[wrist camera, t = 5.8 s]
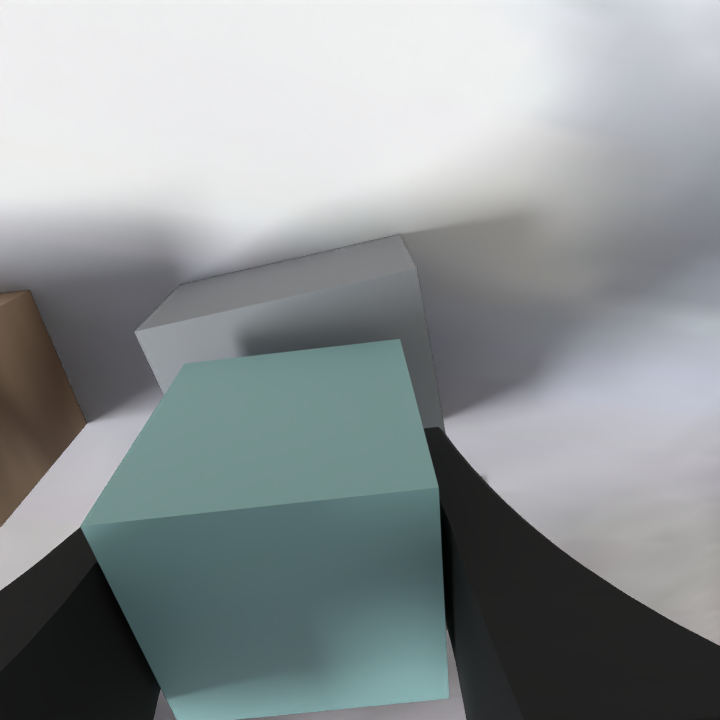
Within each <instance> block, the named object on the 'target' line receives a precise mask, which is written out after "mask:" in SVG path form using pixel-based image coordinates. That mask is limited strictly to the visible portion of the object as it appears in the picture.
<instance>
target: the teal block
mask: <svg viewBox="0 0 720 720" xmlns="http://www.w3.org/2000/svg"><path fill="white" fill-rule="evenodd" d="M80 527H81V529H82V531H83V533H84V535H85V537H86V539H87V541H88V543H89V545H90V547H91V549H92V551H93V553H94V555H95V557H96V559H97V561H98V563H99V565H100V567H101V569H102V571H103V573H104V575H105V577H106V579H107V581H108V583H109V585H110V587H111V589H112V591H113V593H114V595H115V597H116V599H117V601H118V603H119V605H120V607H121V609H122V611H123V613H124V615H125V617H126V619H127V621H128V623H129V625H130V627H131V629H132V631H133V633H134V635H135V637H136V639H137V641H138V643H139V645H140V647H141V649H142V651H143V653H144V655H145V657H146V659H147V661H148V663H149V665H150V667H151V669H152V671H153V673H154V675H155V677H156V679H157V681H158V683H159V685H160V687H161V689H162V691H163V693H164V695H165V697H166V699H167V701H168V703H169V705H170V707H171V709H172V711H173V713H174V715H175V717H176V720H237V719H247V718H257V717H268V716H278V715H288V714H298V713H308V712H318V711H328V710H338V709H348V708H358V707H368V706H378V705H388V704H398V703H408V702H419V701H429V700H439V699H449V686H448V666H447V646H446V625H445V605H444V585H443V564H442V544H441V523H440V503H439V487H438V483H437V479H436V475H435V471H434V467H433V464H432V460H431V456H430V452H429V448H428V444H427V441H426V437H425V433H424V429H423V425H422V421H421V418H420V414H419V410H418V406H417V402H416V398H415V395H414V391H413V387H412V383H411V379H410V375H409V371H408V368H407V364H406V360H405V356H404V352H403V348H402V345H401V341H400V339H395V340H386V341H377V342H368V343H360V344H351V345H342V346H334V347H325V348H316V349H307V350H299V351H290V352H281V353H272V354H264V355H255V356H246V357H237V358H229V359H220V360H211V361H202V362H194V363H185V364H184V365H183V367H182V368H181V370H180V371H179V373H178V374H177V376H176V378H175V379H174V381H173V382H172V384H171V385H170V387H169V388H168V390H167V392H166V393H165V395H164V396H163V398H162V399H161V401H160V403H159V404H158V406H157V407H156V409H155V410H154V412H153V413H152V415H151V417H150V418H149V420H148V421H147V423H146V424H145V426H144V427H143V429H142V431H141V432H140V434H139V435H138V437H137V438H136V440H135V442H134V443H133V445H132V446H131V448H130V449H129V451H128V452H127V454H126V456H125V457H124V459H123V460H122V462H121V463H120V465H119V467H118V468H117V470H116V471H115V473H114V474H113V476H112V477H111V479H110V481H109V482H108V484H107V485H106V487H105V488H104V490H103V492H102V493H101V495H100V496H99V498H98V499H97V501H96V502H95V504H94V506H93V507H92V509H91V510H90V512H89V513H88V515H87V516H86V518H85V520H84V521H83V523H82V524H81V526H80Z"/></svg>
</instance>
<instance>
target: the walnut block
mask: <svg viewBox="0 0 720 720" xmlns="http://www.w3.org/2000/svg"><path fill="white" fill-rule="evenodd" d="M86 424H87V422H86V420H85V418H84V415H83V413H82V411H81V408H80V406H79V404H78V401H77V399H76V397H75V394H74V392H73V390H72V387H71V385H70V383H69V380H68V378H67V376H66V373H65V371H64V369H63V366H62V364H61V362H60V359H59V357H58V355H57V353H56V350H55V348H54V346H53V343H52V341H51V339H50V336H49V334H48V332H47V329H46V327H45V325H44V322H43V320H42V318H41V315H40V313H39V311H38V308H37V306H36V304H35V301H34V299H33V297H32V294H31V292H30V290H25V291H17V292H8V293H0V527H1V526H2V525H3V524H4V523H5V522H6V520H7V519H8V518H9V517H10V515H11V514H12V513H13V512H14V511H15V509H16V508H17V507H18V506H19V505H20V503H21V502H22V501H23V500H24V499H25V497H26V496H27V495H28V494H29V493H30V491H31V490H32V489H33V488H34V487H35V485H36V484H37V483H38V482H39V481H40V479H41V478H42V477H43V476H44V475H45V473H46V472H47V471H48V470H49V469H50V467H51V466H52V465H53V464H54V463H55V461H56V460H57V459H58V458H59V457H60V455H61V454H62V453H63V452H64V451H65V449H66V448H67V447H68V446H69V445H70V443H71V442H72V441H73V440H74V439H75V437H76V436H77V435H78V434H79V433H80V431H81V430H82V429H83V428H84V427H85V425H86Z"/></svg>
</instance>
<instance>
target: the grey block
mask: <svg viewBox="0 0 720 720" xmlns="http://www.w3.org/2000/svg"><path fill="white" fill-rule="evenodd" d="M134 333H135V335H136V337H137V339H138V341H139V343H140V345H141V348H142V350H143V352H144V354H145V356H146V358H147V360H148V362H149V365H150V367H151V369H152V371H153V373H154V375H155V377H156V380H157V382H158V384H159V386H160V388H161V390H162V392H163V394H164V395H165V393H166V392H167V390H168V388H169V387H170V385H171V384H172V382H173V381H174V379H175V378H176V376H177V374H178V373H179V371H180V370H181V368H182V367H183V365H184V364H185V363H194V362H202V361H211V360H220V359H229V358H237V357H246V356H255V355H264V354H272V353H281V352H290V351H299V350H307V349H316V348H325V347H334V346H342V345H351V344H360V343H368V342H377V341H386V340H395V339H400V341H401V345H402V348H403V352H404V356H405V360H406V364H407V368H408V371H409V375H410V379H411V383H412V387H413V391H414V395H415V398H416V402H417V406H418V410H419V414H420V418H421V421H422V425H423V428H431V427H439V428H440V429H442V430H443V431H444V433H445V428H444V422H443V416H442V411H441V405H440V399H439V393H438V387H437V382H436V376H435V370H434V364H433V358H432V353H431V347H430V341H429V335H428V330H427V324H426V318H425V312H424V306H423V301H422V295H421V289H420V283H419V277H418V272H417V267H416V265H415V263H414V261H413V259H412V257H411V255H410V253H409V251H408V249H407V247H406V245H405V243H404V241H403V239H402V237H401V235H400V234H398V235H393V236H389V237H385V238H380V239H376V240H372V241H367V242H363V243H359V244H354V245H350V246H346V247H341V248H337V249H333V250H328V251H324V252H320V253H315V254H311V255H306V256H302V257H298V258H293V259H289V260H285V261H280V262H276V263H272V264H267V265H263V266H259V267H254V268H250V269H246V270H241V271H237V272H233V273H228V274H224V275H219V276H215V277H211V278H206V279H202V280H198V281H193V282H189V283H185V284H180V285H179V286H178V287H177V288H176V289H175V290H174V291H173V292H172V293H171V294H170V295H169V296H168V297H167V299H166V300H165V301H164V302H163V303H162V304H161V305H160V306H159V307H158V308H157V309H156V310H155V311H154V312H153V313H152V314H151V315H150V316H149V317H148V318H147V319H146V320H145V321H144V322H143V323H142V324H141V325H140V326H139V327H138V328H137V329H136V330H135V331H134Z"/></svg>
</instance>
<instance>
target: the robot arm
mask: <svg viewBox="0 0 720 720" xmlns="http://www.w3.org/2000/svg"><path fill="white" fill-rule="evenodd" d="M423 429H424V433H425V437H426V441H427V444H428V448H429V452H430V456H431V460H432V464H433V467H434V471H435V475H436V479H437V483H438V487H439V503H440V523H441V544H442V564H443V585H444V605H445V622H446V626H447V629H448V633H449V636H450V640H451V644H452V648H453V653H454V657H455V661H456V666H457V671H458V677H459V682H460V687H461V692H462V698H463V703H464V708H465V714H466V719H467V720H720V646H719V645H717V644H715V643H713V642H711V641H709V640H707V639H705V638H703V637H701V636H699V635H698V634H696V633H694V632H692V631H690V630H688V629H686V628H684V627H682V626H680V625H678V624H676V623H675V622H673V621H671V620H669V619H667V618H666V617H664V616H662V615H661V614H659V613H657V612H656V611H654V610H652V609H650V608H649V607H647V606H645V605H644V604H642V603H640V602H638V601H637V600H635V599H633V598H632V597H630V596H628V595H627V594H625V593H624V592H622V591H620V590H619V589H617V588H616V587H614V586H613V585H611V584H610V583H608V582H607V581H605V580H604V579H602V578H601V577H599V576H598V575H596V574H595V573H593V572H592V571H590V570H589V569H587V568H586V567H584V566H583V565H581V564H580V563H579V562H577V561H576V560H575V559H573V558H572V557H570V556H569V555H568V554H566V553H565V552H564V551H562V550H561V549H560V548H558V547H557V546H556V545H555V544H553V543H552V542H551V541H550V540H548V539H547V538H546V537H545V536H543V535H542V534H541V533H540V532H538V531H537V530H536V529H535V528H534V527H533V526H531V525H530V524H529V523H528V522H527V521H526V520H525V519H523V518H522V517H521V516H520V515H519V514H518V513H517V512H516V511H515V510H514V509H512V508H511V507H510V506H509V505H508V504H507V503H506V502H505V501H504V500H503V499H502V498H501V497H500V496H499V495H498V494H497V493H496V492H495V491H494V490H493V489H492V488H491V487H490V486H489V485H488V484H487V483H486V482H485V481H484V480H483V479H482V477H481V476H480V475H479V474H478V473H477V472H476V471H475V470H474V469H473V468H472V467H471V465H470V464H469V463H468V462H467V461H466V460H465V458H464V457H463V456H462V455H461V454H460V452H459V451H458V450H457V449H456V447H455V446H454V445H453V444H452V442H451V441H450V440H449V438H448V437H447V436H446V434H445V433H444V431H443V430H442V429H440V428H439V427H431V428H423ZM160 689H161V687H160V685H159V683H158V681H157V679H156V677H155V675H154V673H153V671H152V669H151V667H150V665H149V663H148V661H147V659H146V657H145V655H144V653H143V651H142V649H141V647H140V645H139V643H138V641H137V639H136V637H135V635H134V633H133V631H132V629H131V627H130V625H129V623H128V621H127V619H126V617H125V615H124V613H123V611H122V609H121V607H120V605H119V603H118V601H117V599H116V597H115V595H114V593H113V591H112V589H111V587H110V585H109V583H108V581H107V579H106V577H105V575H104V573H103V571H102V569H101V567H100V565H99V563H98V561H97V559H96V557H95V555H94V553H93V551H92V549H91V547H90V545H89V543H88V541H87V539H86V537H85V535H84V533H83V531H82V529H81V527H80V528H79V529H77V530H76V531H75V532H74V533H73V534H71V535H70V536H69V537H68V538H67V539H65V540H64V541H63V542H62V543H61V544H59V545H58V546H57V547H56V548H55V549H53V550H52V551H51V552H50V553H49V554H47V555H46V556H45V557H44V558H43V559H42V560H40V561H39V562H38V563H36V564H35V565H34V566H33V567H31V568H30V569H29V570H27V571H26V572H25V573H24V574H22V575H21V576H20V577H18V578H17V579H16V580H14V581H13V582H12V583H10V584H9V585H7V586H6V587H5V588H3V589H2V590H1V591H0V720H153V718H154V714H155V710H156V705H157V701H158V697H159V693H160Z"/></svg>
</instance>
